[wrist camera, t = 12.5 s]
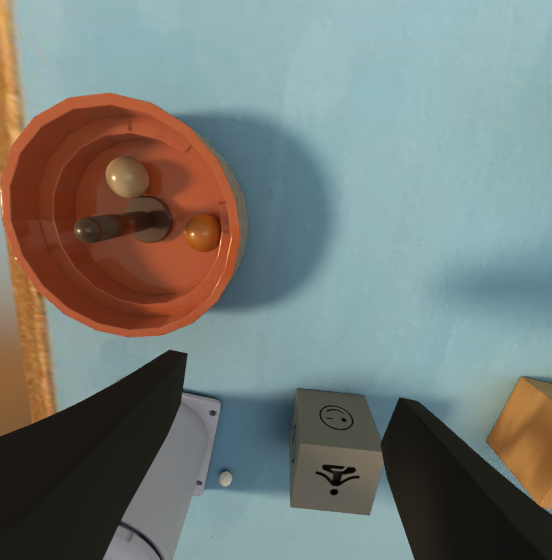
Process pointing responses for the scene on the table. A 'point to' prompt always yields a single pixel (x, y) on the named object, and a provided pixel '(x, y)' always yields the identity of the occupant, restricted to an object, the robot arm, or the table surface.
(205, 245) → the amber bead
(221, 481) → the sphere
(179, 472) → the robot arm
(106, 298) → the bowl
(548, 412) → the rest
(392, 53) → the table surface
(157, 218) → the brown peg
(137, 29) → the table surface
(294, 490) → the dice cube
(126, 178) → the cream bead
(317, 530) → the table surface
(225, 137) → the table surface
